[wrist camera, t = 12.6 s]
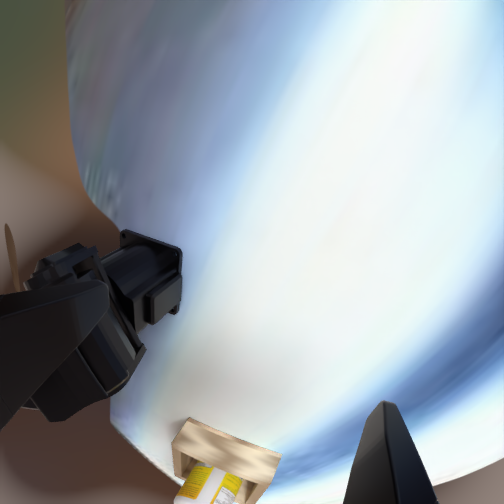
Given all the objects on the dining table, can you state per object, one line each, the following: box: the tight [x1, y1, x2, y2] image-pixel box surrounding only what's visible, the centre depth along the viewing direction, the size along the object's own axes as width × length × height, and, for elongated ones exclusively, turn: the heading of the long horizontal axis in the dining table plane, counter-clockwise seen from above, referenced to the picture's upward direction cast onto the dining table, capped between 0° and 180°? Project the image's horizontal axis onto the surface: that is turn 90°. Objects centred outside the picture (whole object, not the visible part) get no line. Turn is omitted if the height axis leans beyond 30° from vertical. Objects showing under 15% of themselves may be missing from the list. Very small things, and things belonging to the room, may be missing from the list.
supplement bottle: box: [174, 460, 244, 504], centre depth 28 cm, size 7×7×13 cm
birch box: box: [171, 418, 282, 504], centre depth 32 cm, size 12×12×5 cm
